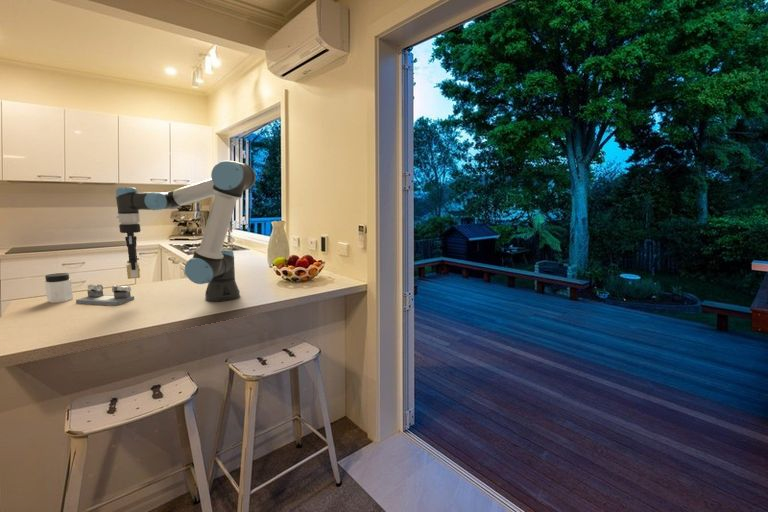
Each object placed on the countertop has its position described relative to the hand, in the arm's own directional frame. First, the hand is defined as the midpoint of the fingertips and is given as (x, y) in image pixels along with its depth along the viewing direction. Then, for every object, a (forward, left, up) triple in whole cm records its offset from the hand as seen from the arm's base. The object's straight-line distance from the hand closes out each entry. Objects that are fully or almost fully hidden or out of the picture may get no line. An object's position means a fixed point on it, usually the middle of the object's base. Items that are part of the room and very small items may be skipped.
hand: (134, 275), depth 165 cm
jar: (+37, +3, -13) cm, 39 cm away
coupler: (0, 0, -1) cm, 1 cm away
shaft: (+23, -2, -11) cm, 26 cm away
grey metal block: (+9, -2, -11) cm, 14 cm away
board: (+16, 0, -12) cm, 20 cm away
